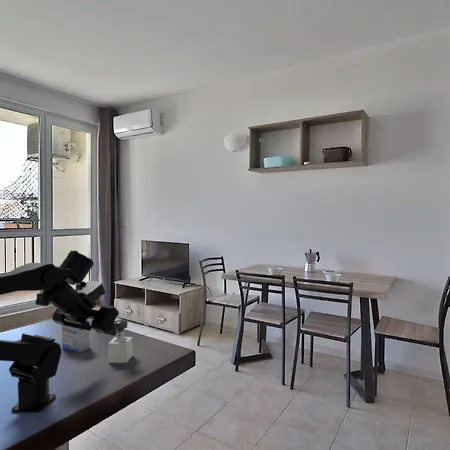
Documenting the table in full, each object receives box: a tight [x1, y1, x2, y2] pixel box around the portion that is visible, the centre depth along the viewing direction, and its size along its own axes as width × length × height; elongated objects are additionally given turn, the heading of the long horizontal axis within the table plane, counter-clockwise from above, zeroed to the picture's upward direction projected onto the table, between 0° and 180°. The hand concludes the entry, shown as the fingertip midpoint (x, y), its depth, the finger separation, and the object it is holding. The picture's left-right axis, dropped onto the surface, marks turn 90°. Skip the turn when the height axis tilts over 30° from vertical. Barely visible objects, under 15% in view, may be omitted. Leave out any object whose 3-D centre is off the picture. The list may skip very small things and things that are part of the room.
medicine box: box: [61, 320, 91, 353], centre depth 108 cm, size 8×4×9 cm, turn 62°
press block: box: [107, 336, 133, 364], centre depth 100 cm, size 5×5×6 cm
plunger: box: [114, 319, 128, 342], centre depth 99 cm, size 4×4×10 cm
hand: (103, 331), depth 94 cm, fingers open, 9 cm apart
